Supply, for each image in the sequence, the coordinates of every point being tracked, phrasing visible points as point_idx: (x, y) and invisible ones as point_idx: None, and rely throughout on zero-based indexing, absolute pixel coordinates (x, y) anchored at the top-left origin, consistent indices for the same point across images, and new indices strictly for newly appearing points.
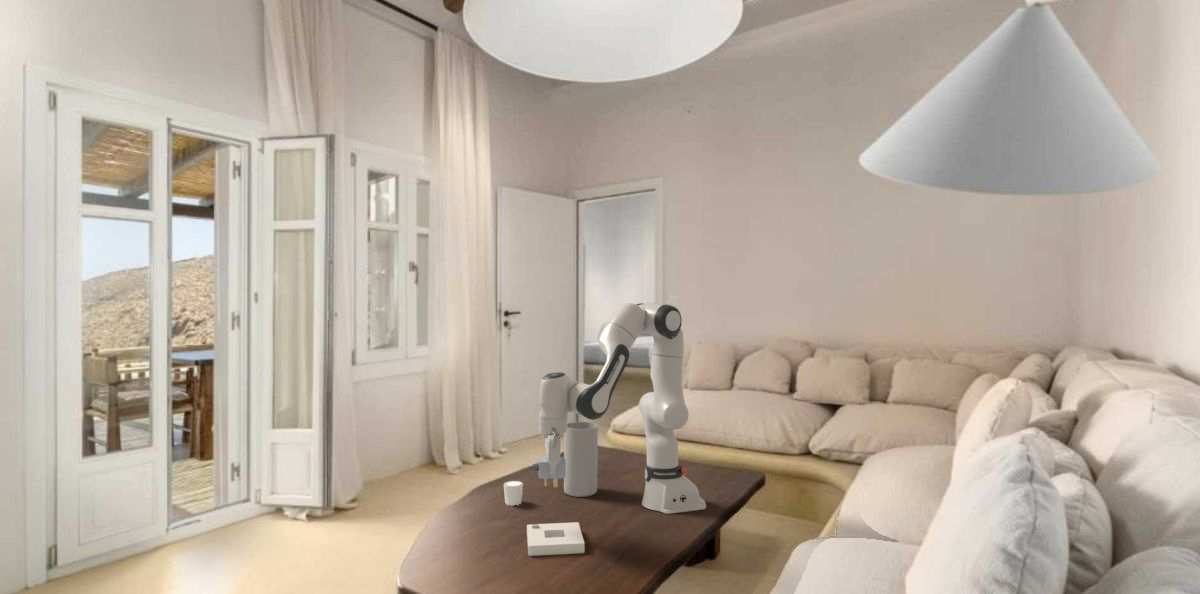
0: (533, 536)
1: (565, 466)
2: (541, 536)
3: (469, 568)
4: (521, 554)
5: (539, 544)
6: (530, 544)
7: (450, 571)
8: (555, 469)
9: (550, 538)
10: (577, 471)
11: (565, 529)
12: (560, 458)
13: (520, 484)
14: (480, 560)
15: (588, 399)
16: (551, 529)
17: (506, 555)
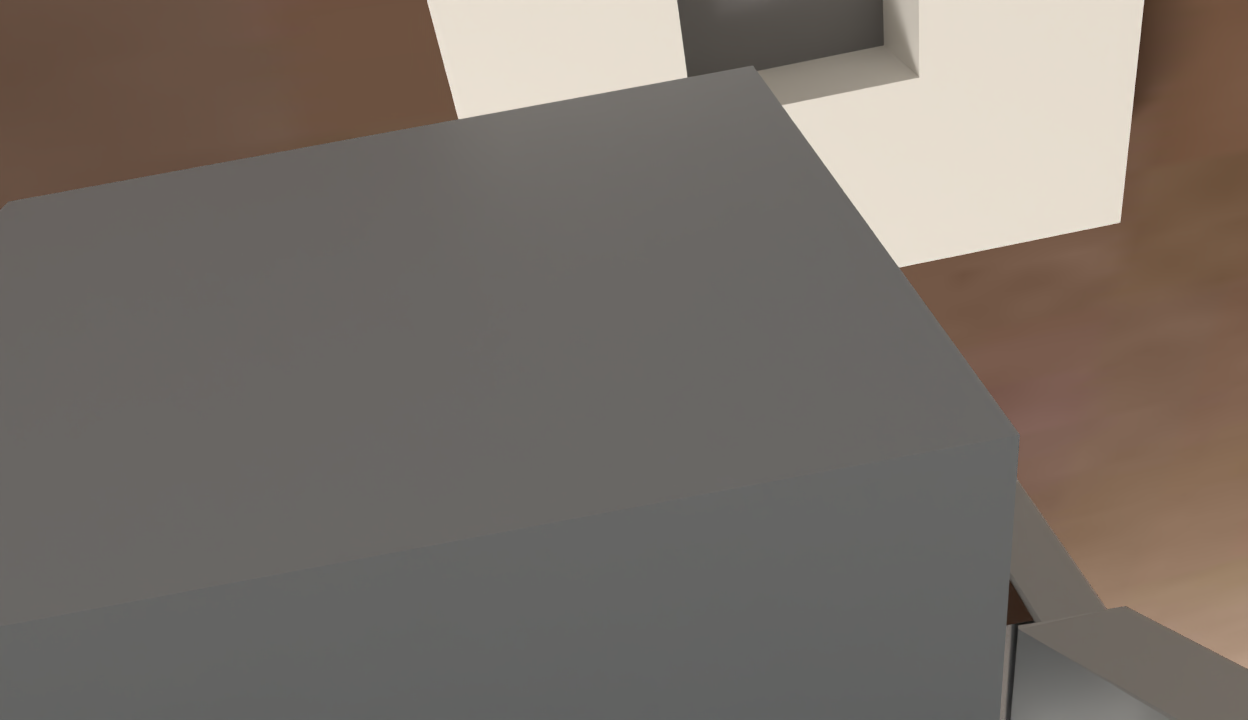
0: (870, 215)
1: (898, 277)
2: (876, 126)
3: (1190, 545)
4: (1020, 247)
5: (1104, 113)
6: (1085, 209)
7: (1202, 629)
8: (1089, 594)
9: (950, 5)
10: None
11: None
12: None
13: None
14: (1073, 516)
15: None
16: (657, 31)
17: (1018, 364)
